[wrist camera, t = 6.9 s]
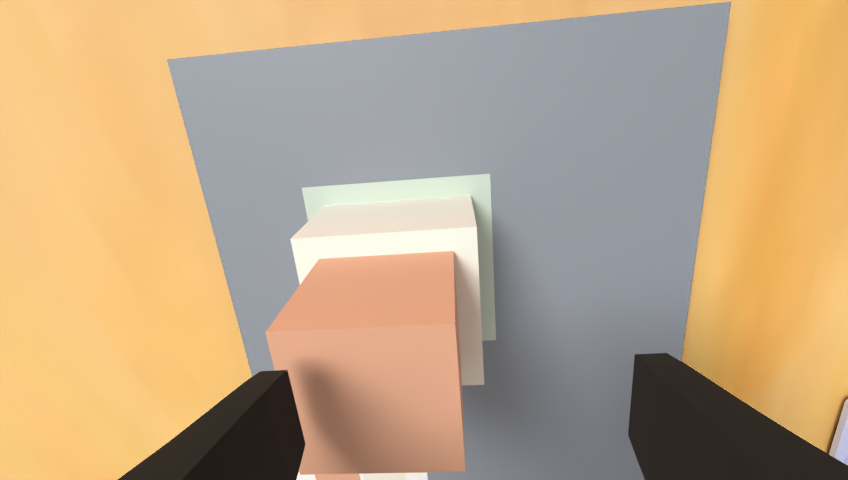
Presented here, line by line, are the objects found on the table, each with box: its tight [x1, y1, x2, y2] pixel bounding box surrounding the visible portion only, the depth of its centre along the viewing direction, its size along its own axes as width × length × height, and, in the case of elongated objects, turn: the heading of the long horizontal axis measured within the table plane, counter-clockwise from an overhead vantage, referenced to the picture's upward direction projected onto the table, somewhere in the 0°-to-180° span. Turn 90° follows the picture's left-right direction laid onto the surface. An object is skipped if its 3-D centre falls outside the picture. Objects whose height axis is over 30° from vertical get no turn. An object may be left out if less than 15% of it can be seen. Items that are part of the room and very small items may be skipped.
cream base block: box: [290, 195, 484, 386], centre depth 17 cm, size 6×6×4 cm
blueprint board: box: [167, 2, 731, 480], centre depth 20 cm, size 24×20×1 cm
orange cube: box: [265, 251, 466, 475], centre depth 13 cm, size 4×4×4 cm
